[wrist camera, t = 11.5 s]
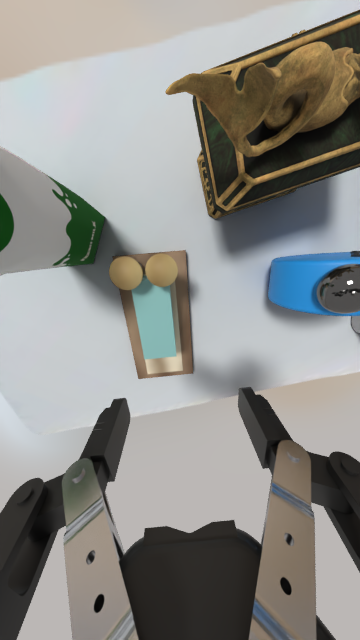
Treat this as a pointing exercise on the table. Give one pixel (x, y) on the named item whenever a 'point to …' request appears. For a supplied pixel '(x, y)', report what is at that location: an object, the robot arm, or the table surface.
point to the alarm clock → (317, 283)
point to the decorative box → (278, 116)
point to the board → (172, 272)
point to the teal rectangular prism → (155, 319)
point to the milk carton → (42, 220)
